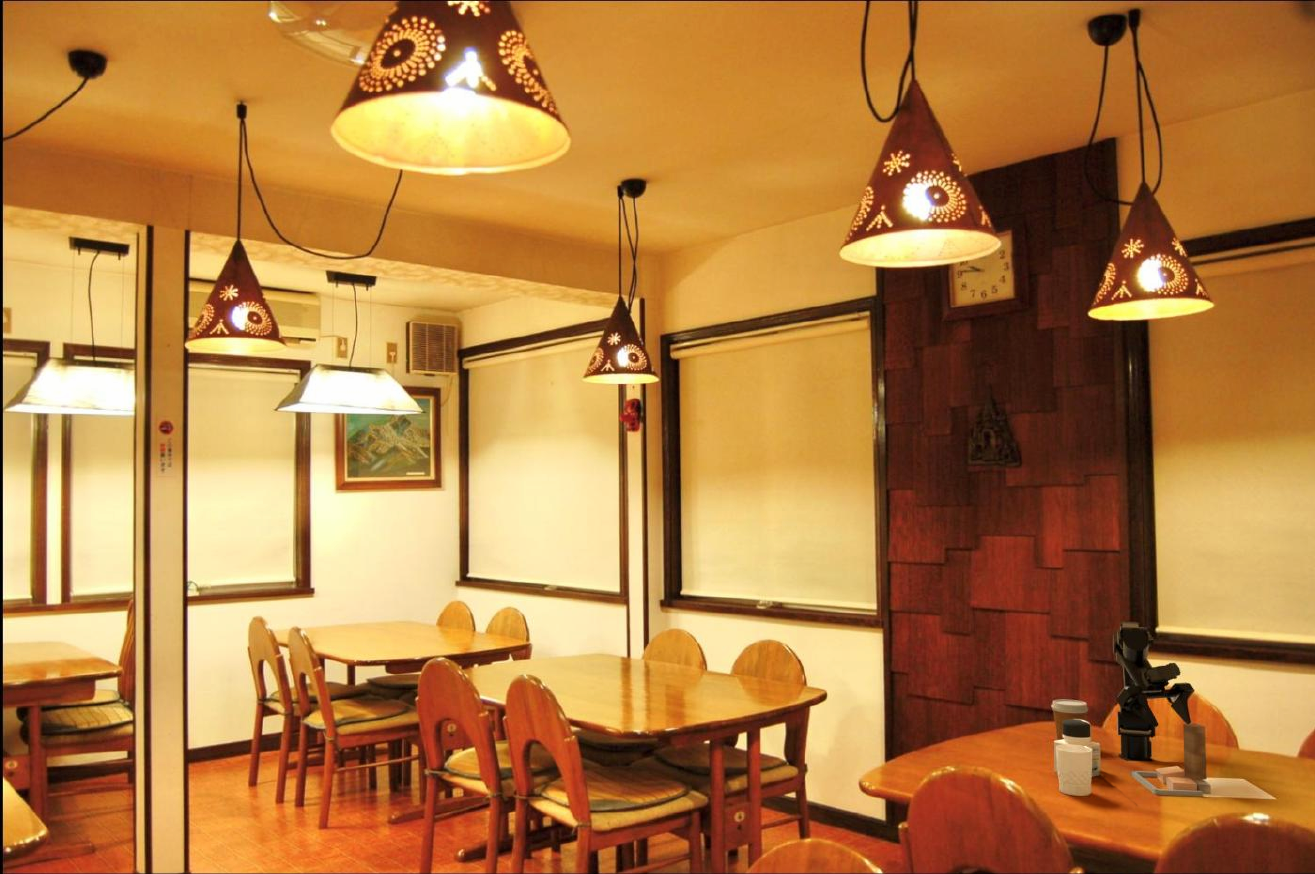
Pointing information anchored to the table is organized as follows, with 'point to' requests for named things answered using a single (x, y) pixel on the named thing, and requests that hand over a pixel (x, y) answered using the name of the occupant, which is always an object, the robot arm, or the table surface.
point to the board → (1234, 789)
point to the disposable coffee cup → (1067, 713)
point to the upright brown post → (1195, 756)
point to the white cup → (1074, 769)
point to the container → (1079, 741)
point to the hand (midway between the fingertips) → (1173, 724)
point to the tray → (1139, 776)
